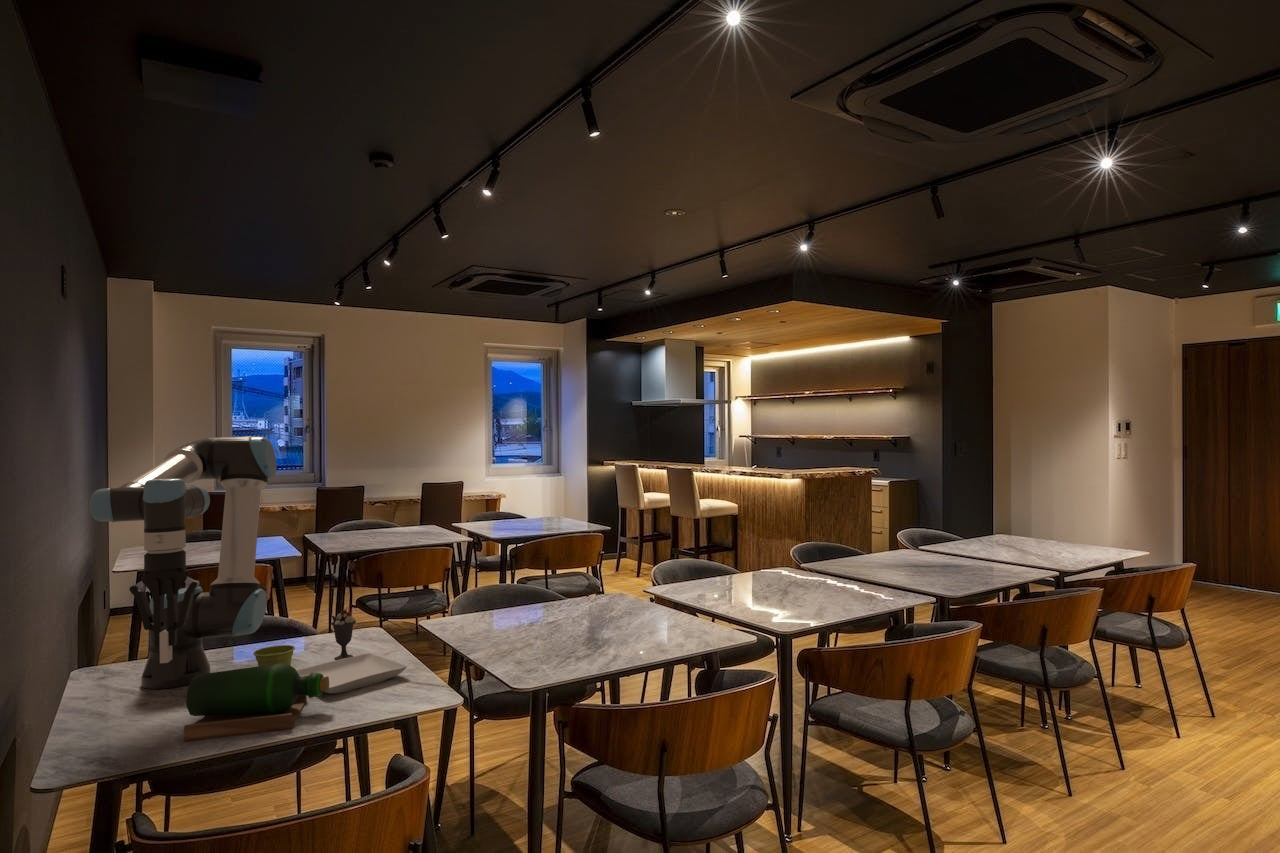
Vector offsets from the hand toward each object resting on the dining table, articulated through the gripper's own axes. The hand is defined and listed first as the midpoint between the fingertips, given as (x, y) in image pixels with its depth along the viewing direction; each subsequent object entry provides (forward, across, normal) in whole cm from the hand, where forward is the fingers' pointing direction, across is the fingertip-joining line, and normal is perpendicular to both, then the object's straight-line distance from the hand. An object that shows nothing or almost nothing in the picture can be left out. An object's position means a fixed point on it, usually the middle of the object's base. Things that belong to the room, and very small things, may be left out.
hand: (166, 661), depth 155 cm
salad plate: (+15, +34, +22) cm, 43 cm away
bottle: (+9, +4, +4) cm, 10 cm away
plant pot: (+15, +16, +25) cm, 33 cm away
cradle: (+14, +16, 0) cm, 22 cm away
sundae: (+15, +30, +44) cm, 55 cm away
